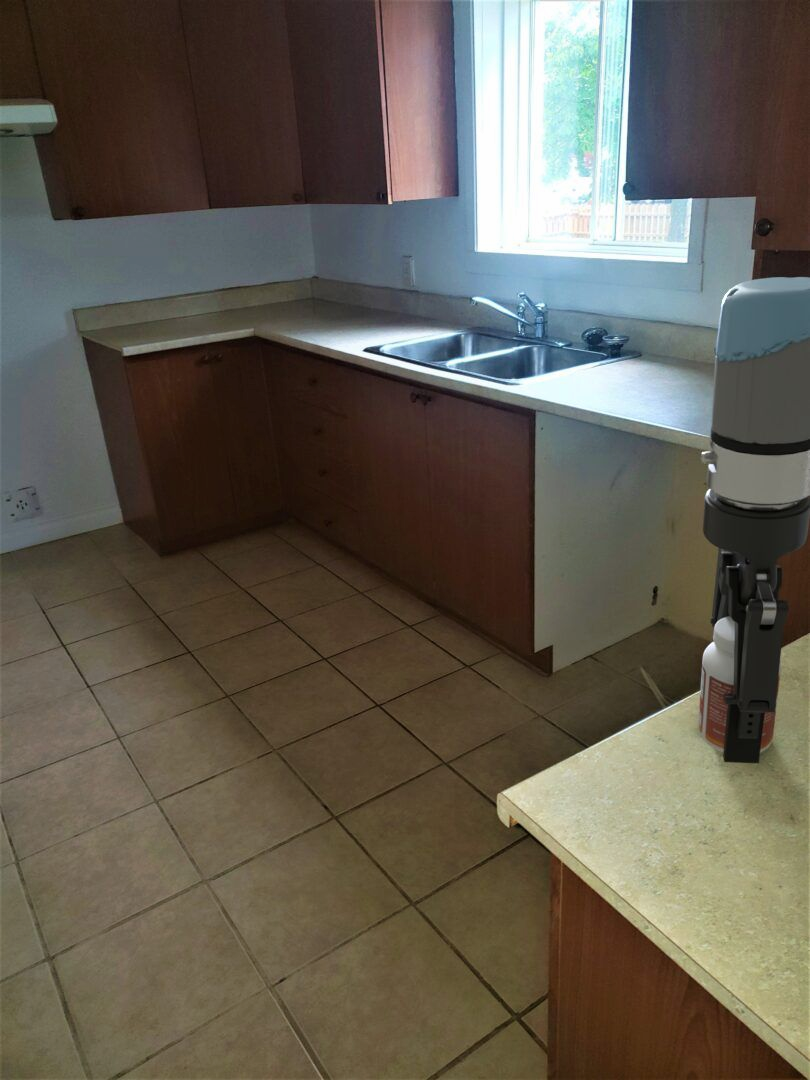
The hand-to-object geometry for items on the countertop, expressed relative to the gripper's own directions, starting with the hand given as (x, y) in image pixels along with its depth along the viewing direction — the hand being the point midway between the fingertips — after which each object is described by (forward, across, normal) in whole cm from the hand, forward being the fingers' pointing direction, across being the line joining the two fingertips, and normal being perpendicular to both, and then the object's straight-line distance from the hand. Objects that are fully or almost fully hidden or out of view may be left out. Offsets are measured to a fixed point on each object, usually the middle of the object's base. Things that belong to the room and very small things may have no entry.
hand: (732, 732), depth 72 cm
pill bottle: (+1, 0, 0) cm, 1 cm away
